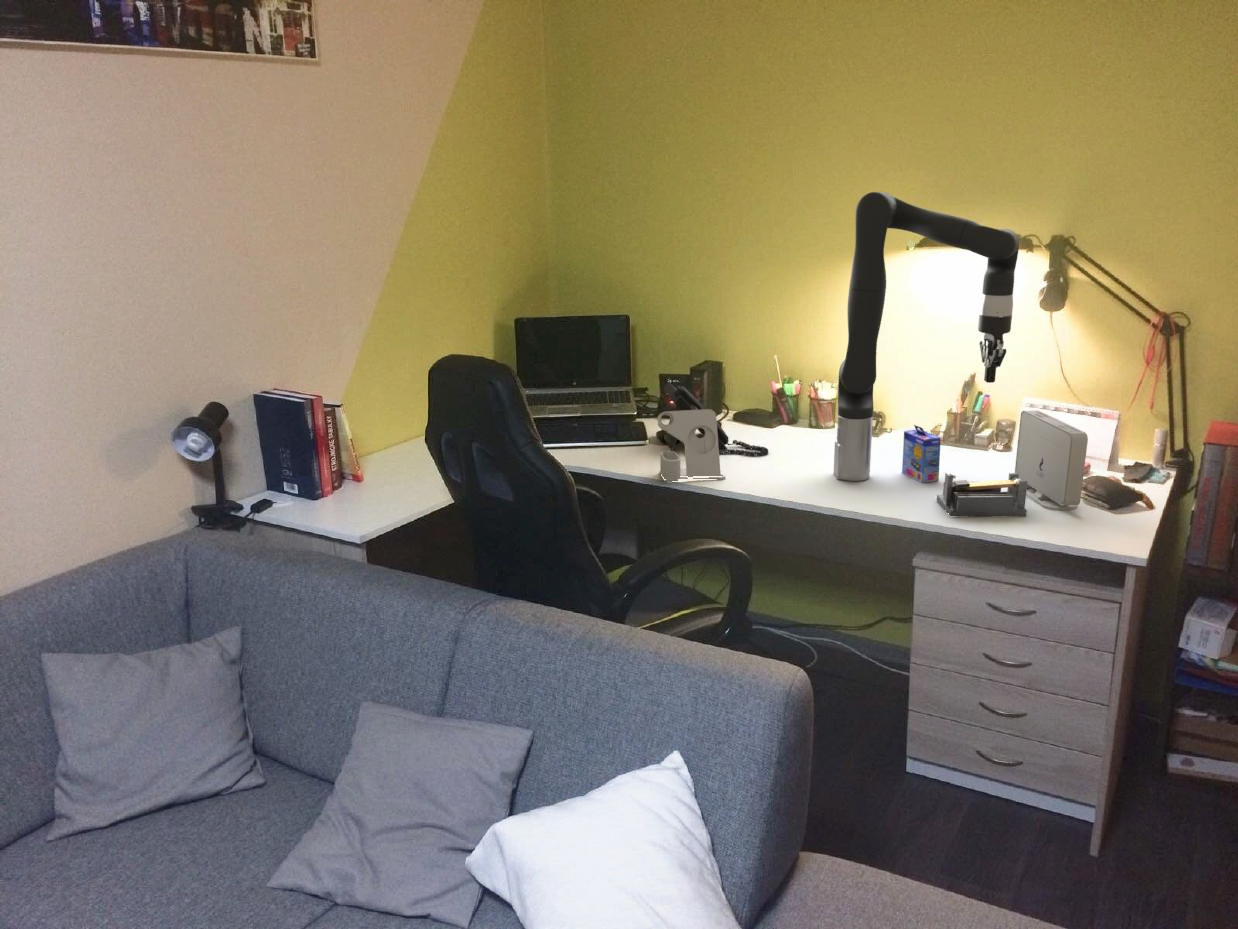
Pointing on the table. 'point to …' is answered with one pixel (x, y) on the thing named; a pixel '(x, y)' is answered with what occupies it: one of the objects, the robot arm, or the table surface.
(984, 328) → the robot arm
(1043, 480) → the network device
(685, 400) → the office phone
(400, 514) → the table surface
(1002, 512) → the heatsink
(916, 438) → the ink cartridge box
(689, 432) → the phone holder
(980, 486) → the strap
